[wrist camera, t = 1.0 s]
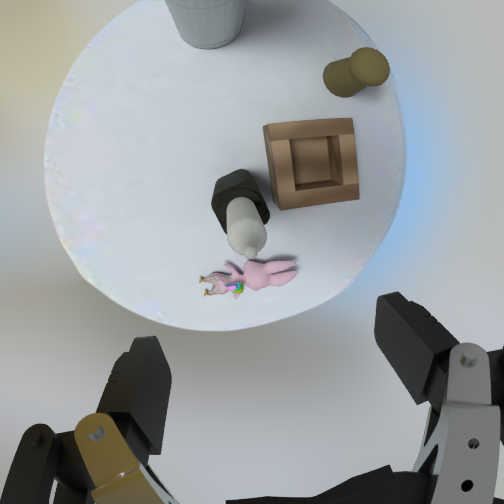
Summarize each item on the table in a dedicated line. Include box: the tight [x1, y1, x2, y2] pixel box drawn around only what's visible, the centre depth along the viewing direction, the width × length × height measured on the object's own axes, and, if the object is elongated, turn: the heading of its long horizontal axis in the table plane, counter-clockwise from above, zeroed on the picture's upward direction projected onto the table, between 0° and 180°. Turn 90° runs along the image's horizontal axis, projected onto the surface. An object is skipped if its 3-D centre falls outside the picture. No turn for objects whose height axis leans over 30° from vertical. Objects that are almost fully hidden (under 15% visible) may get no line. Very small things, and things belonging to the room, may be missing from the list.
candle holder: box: [263, 118, 359, 210], centre depth 38 cm, size 11×11×6 cm
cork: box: [323, 47, 390, 97], centre depth 31 cm, size 6×6×11 cm
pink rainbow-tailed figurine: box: [199, 261, 298, 299], centre depth 44 cm, size 6×6×15 cm
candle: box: [211, 169, 270, 259], centre depth 30 cm, size 5×5×25 cm
